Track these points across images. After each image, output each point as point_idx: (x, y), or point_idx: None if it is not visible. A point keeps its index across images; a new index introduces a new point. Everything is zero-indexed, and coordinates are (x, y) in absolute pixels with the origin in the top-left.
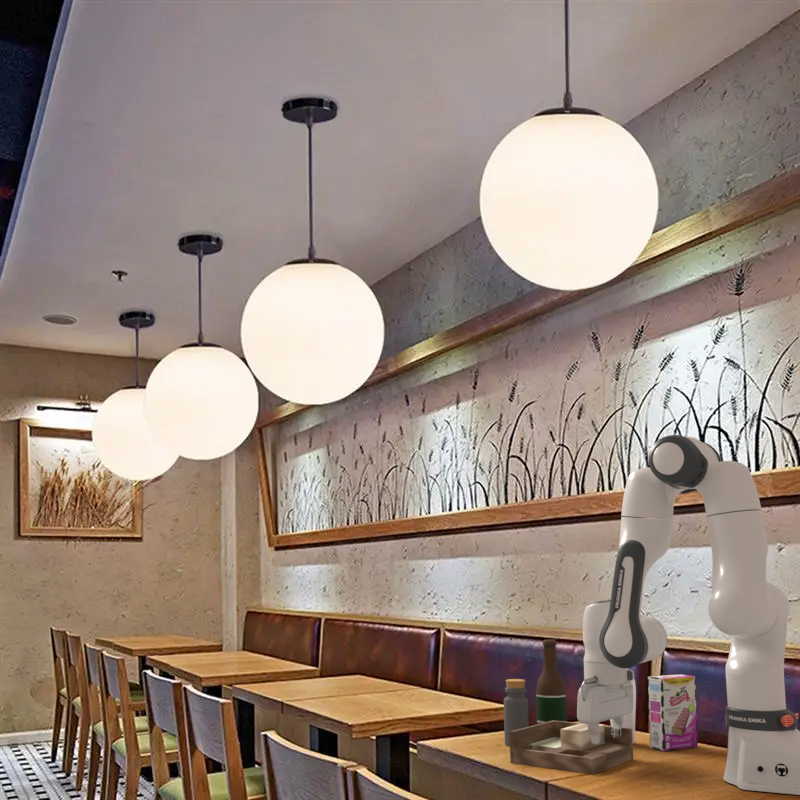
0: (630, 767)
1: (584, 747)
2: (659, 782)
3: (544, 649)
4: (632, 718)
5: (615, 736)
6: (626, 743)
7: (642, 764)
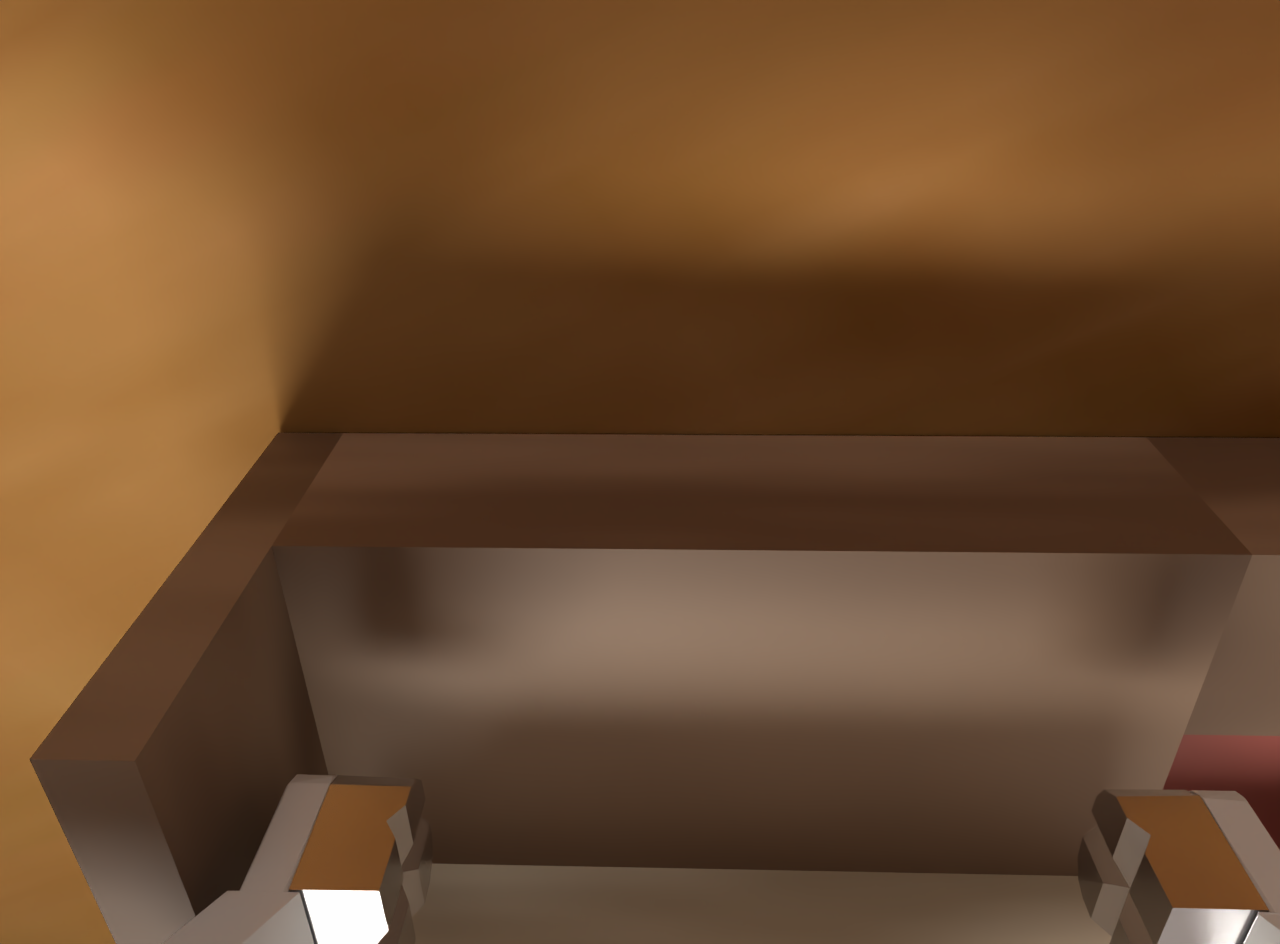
0: (843, 221)
1: (1017, 901)
2: None
3: None
4: None
5: (414, 822)
6: (278, 628)
7: (508, 168)
